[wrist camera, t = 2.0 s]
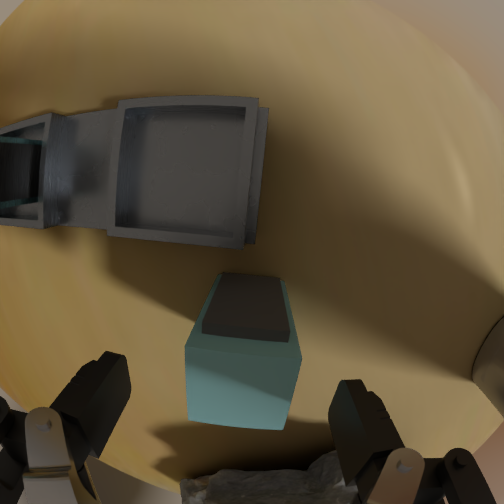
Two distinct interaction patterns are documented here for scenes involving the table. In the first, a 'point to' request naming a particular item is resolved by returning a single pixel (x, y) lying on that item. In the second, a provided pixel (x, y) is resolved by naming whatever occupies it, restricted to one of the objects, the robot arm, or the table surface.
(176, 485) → the table surface
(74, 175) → the grey block holder
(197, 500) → the stone
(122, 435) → the table surface
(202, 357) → the block
